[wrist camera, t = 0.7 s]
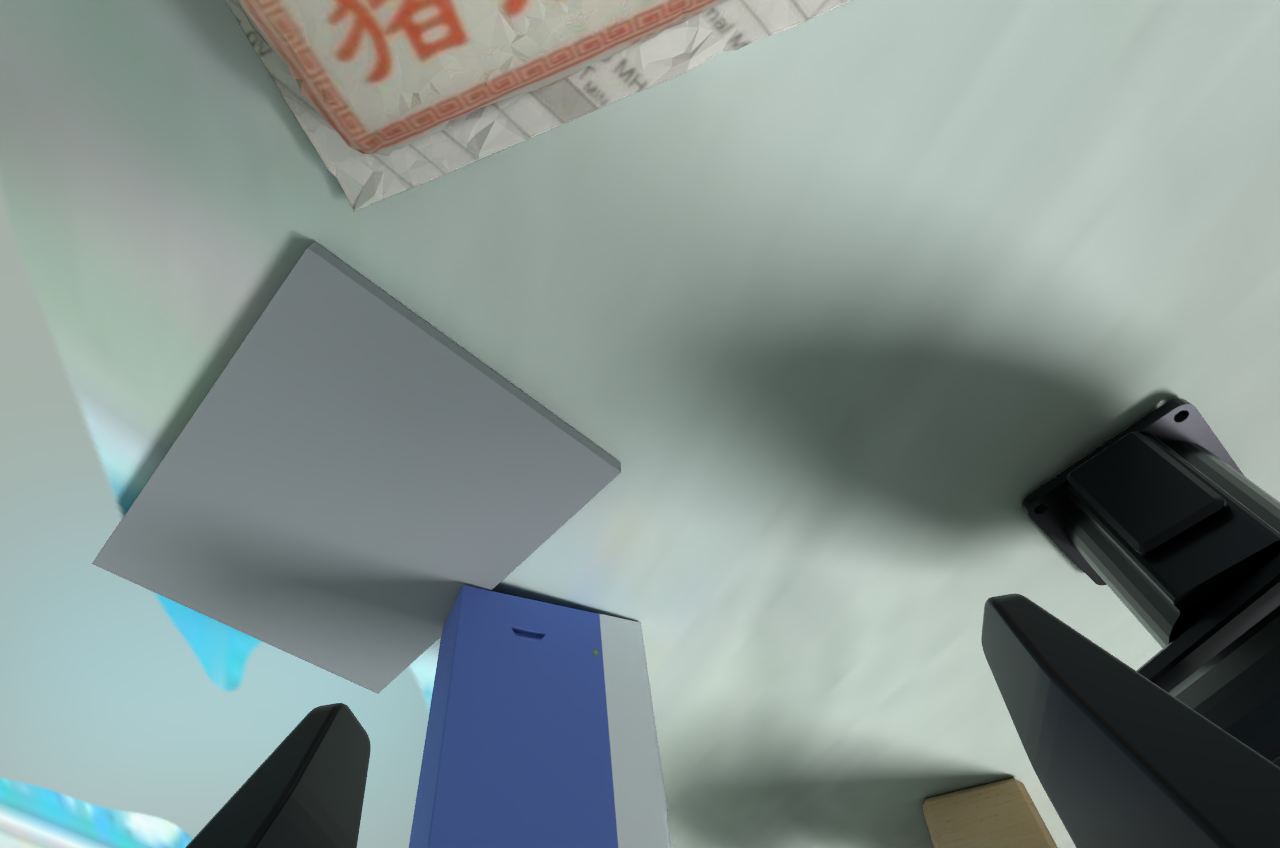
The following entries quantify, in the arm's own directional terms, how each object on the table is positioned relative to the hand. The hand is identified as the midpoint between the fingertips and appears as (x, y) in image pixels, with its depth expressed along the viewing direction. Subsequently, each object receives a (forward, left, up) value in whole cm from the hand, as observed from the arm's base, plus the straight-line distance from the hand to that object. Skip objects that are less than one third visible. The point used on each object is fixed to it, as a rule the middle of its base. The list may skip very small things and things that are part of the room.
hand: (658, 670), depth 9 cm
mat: (+2, +13, -14) cm, 19 cm away
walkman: (-7, +13, -14) cm, 20 cm away
